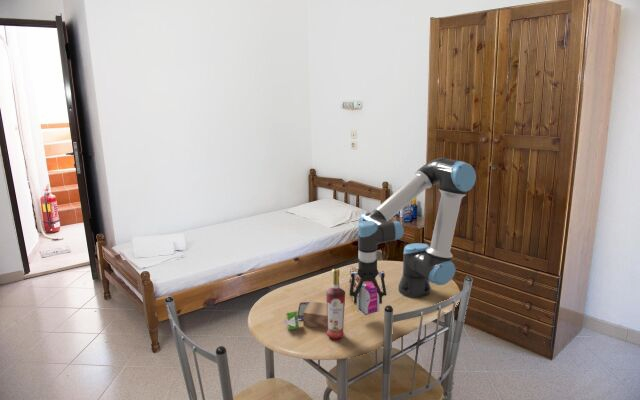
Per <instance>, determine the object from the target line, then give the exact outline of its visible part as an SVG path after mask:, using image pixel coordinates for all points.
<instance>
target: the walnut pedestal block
mask: <svg viewBox="0 0 640 400" xmlns="http://www.w3.org/2000/svg"><path fill="white" fill-rule="evenodd" d="M302 315H303V316H302V317H303V318H302V322H303V323H302V325H303V326H306V327H314V328H319V329H320V328H321V329H328V318H327V302H317V301H311V300H310V301H309V302H308V303H307V305H306V307H305V308H304V311H303V312H302Z"/></svg>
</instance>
